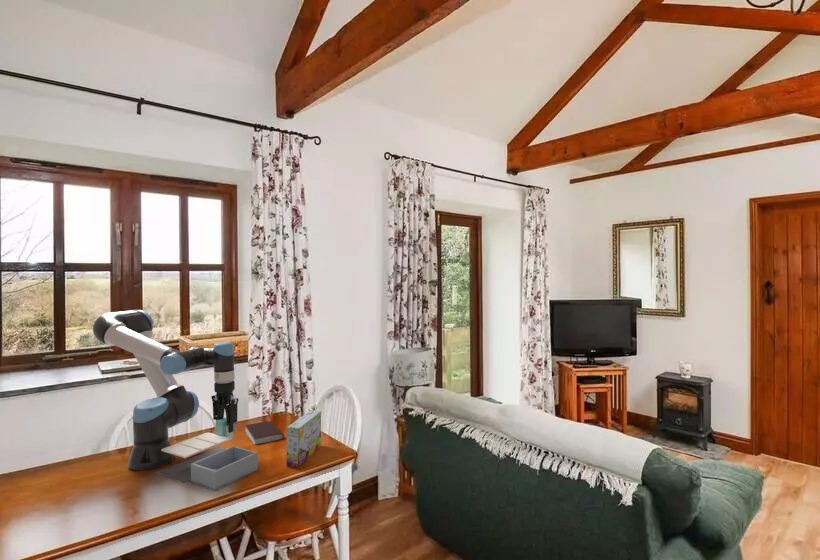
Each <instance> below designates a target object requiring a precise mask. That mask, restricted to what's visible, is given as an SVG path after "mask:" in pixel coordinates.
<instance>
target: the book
mask: <svg viewBox="0 0 820 560" xmlns="http://www.w3.org/2000/svg"><path fill="white" fill-rule="evenodd" d="M244 432H245V433H246V436H248V438H249V439H250V440H251V442H252V443H253V445H254V446H255V445H258V444H264V443H270V442H273V441H277V440H283V439H284V433H283V432H282V431H281V430H280V429H279V427H277V425H276V424H275V423H274V422H273V421H272V420H269V421H262V422H253V423H249V424H246V425H245V429H244Z"/></svg>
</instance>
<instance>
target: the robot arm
mask: <svg viewBox="0 0 820 560" xmlns="http://www.w3.org/2000/svg"><path fill="white" fill-rule="evenodd" d="M153 329H154V320H153V318H152V316H151V314H149V313H148V312H147V311H145V310H142V309H128V310H124V311H123V310H122V311H112V312H111V311H109V312H106V313H102V314H101V315H100V316H98V317H97V319H95V320H94V322H93V325H92V333H93V335H94V337H95V338H96V339H97V340H98V341H99V342H101V343H102V344H105V345H107V346H109V347H114V346H116V347H118V348H120V349H123V350H125V351H127V352H129V353H132V354H133V355H134V357H135V359H136V361H137V362H138V364H139V366H140V368H141V370H142V371H143V373H144V375H145V377H146V379H147V380H148V382H149V384H150V386H151V388H152V389H153V390H154V392H155V394H156V397H153V398H149V399H144V400H142V401H141V402H138V404H136V405H135V406H134V408H133V411H132V413H133V414H132V431H133V433H132V434H133V435H132V436H133V438H132V439H133V446H132V449H131V451H130V455H129V458H128V461H127V462H128V468H129V469H130V470H133V471H148V470H153V469H154V470H155V469H158V468H160V467H164V466H166V465H168V464H170V463H171V462H172V461H173V460H174V458H175V455H173V454H170V453H167V452H164V451H161V449H163V448H166V447H169V446H171V445H172V444H171V443H170V442H171V441H170V440H169V429H171V428H174V427H176V426H178V425H180V424H183V423H185V422H188V421H189V420H191V419H192V418H194V417H195V416H196V415H197V413H198V411H199V407H200V400H199V397H198V396H197V394H196V393H195V392H193V391H191V390H187V389H186V387H185V386H184V385H183V384H179V383H178V382H177V380H176V378H175V376H174V375H177V374H181V373H183V372H187V371H190V370H193V369H197V368H200V367H213V372H214V373H213V377H214V379H213V380H214V383H213V386H214V387H213V388H214V390H213V391H214V392H215V394H214V395H211V396H210V397H211V401H212V415H213V417H212V419H213V421H217V420H220V419H222V418H225V417H226V419H227V424H226V436H225V437H228V438H231V440H233V439H234V433H233V424H234V423H235V424H236V423H238V404H239V398H238V397H236V398H235V397H234V396H235V395H234V393H233V392H234V391H235V390H236V389H235V388H236V385H235V384H236V382H235V379H236V377H235V376H236V375H235V347H234V343H233V342H230V341H220V342H216V343H214V344H213V346H212V347H211V346H199V345H198V346H192V347H190V348H188V350H183V351H180V350H178V349H175V348H172V346H171V347H170V346H168V345H166V344H163V343H161V342H159V341H157V340H155V339H152V337H153V334H154V332H153ZM231 440H229V441H228V442H230V441H231Z"/></svg>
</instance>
